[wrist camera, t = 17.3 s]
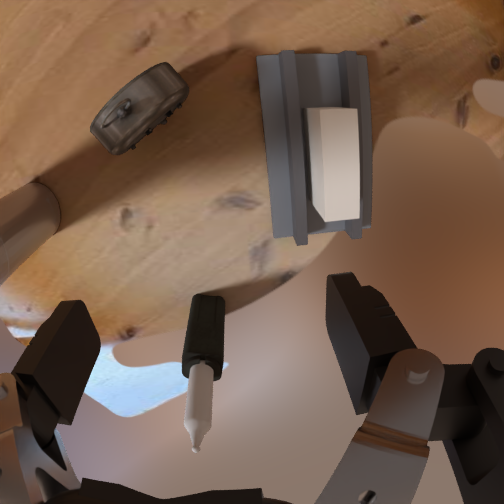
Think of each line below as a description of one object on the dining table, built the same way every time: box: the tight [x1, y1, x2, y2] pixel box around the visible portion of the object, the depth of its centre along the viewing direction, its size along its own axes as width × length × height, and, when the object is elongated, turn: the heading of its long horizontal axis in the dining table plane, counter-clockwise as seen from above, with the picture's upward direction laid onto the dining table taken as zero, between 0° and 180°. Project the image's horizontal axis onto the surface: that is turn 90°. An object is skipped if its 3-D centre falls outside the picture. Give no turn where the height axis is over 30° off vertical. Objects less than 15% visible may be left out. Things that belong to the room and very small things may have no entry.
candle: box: [182, 294, 225, 453], centre depth 38 cm, size 5×5×25 cm
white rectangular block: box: [303, 107, 360, 222], centre depth 34 cm, size 4×12×8 cm, turn 6°
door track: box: [256, 50, 372, 246], centre depth 37 cm, size 14×24×4 cm, turn 6°
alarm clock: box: [90, 62, 189, 155], centre depth 28 cm, size 11×5×16 cm, turn 127°
